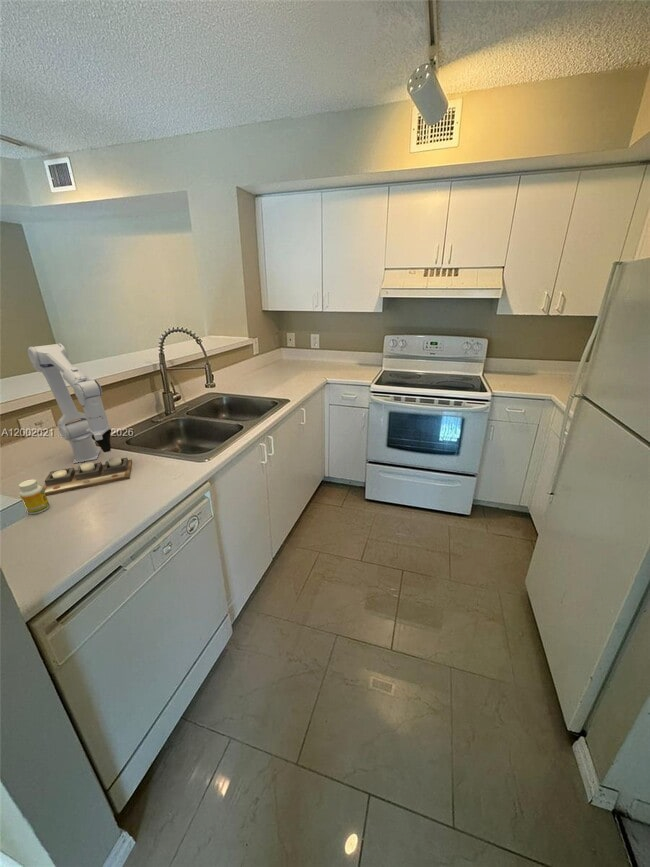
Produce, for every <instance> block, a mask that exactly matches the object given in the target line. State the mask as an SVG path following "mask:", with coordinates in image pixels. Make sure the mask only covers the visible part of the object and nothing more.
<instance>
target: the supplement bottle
mask: <svg viewBox="0 0 650 867" xmlns="http://www.w3.org/2000/svg"><path fill="white" fill-rule="evenodd" d="M18 487H19V489H20V491H19V496H20V498H21V500H22V499H23V500H24V502H25V505H26V507H27V510H28V512H27V513H28V514H30V515H37V514H41V513H43V512H45V511H46V510H48V509H49V508H50V502H49V500H48V498H47V496H46V495H45V493H44V490H43V486H41V485H40V484H38V481H37V480H36V479H27V480H25V481H22V482H20V483H19V484H18ZM25 505H24V506H25ZM26 507H25V508H26ZM27 510H26V511H27Z"/></svg>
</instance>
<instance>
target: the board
mask: <svg viewBox="0 0 650 867" xmlns="http://www.w3.org/2000/svg"><path fill="white" fill-rule="evenodd" d="M121 461H122V465H121V466H115V467H110V466H109V463H108V460H107V461H105V464H103V463H102V462H96V463H94V466H95V470H94V471H89V472H84V473H82V470H81V467H80V466H81V465H80V466H78V467H77V469H75V467H74V466H73V467H68V468H64V469H61V470H66V472H67V476H63V477H57V478H53V476H52V474H53V473H54V472H56V471H59V470H60V469H58V470H52V471H49V473H48V474H47V476H46V478H45V479H44V485H43V486H42V488H43V490H44V493H45V495H46V497H47V496H52V495H58V494H62V493H66V492H67V493H68V492H71V491H76V490H81V489H86V488H92V487H97V486H101V485H105V484H111V483H115V482H120V481H126V480H129V479H130V478H131V472H132V467H133V459H128V457H122V458H121Z"/></svg>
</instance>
